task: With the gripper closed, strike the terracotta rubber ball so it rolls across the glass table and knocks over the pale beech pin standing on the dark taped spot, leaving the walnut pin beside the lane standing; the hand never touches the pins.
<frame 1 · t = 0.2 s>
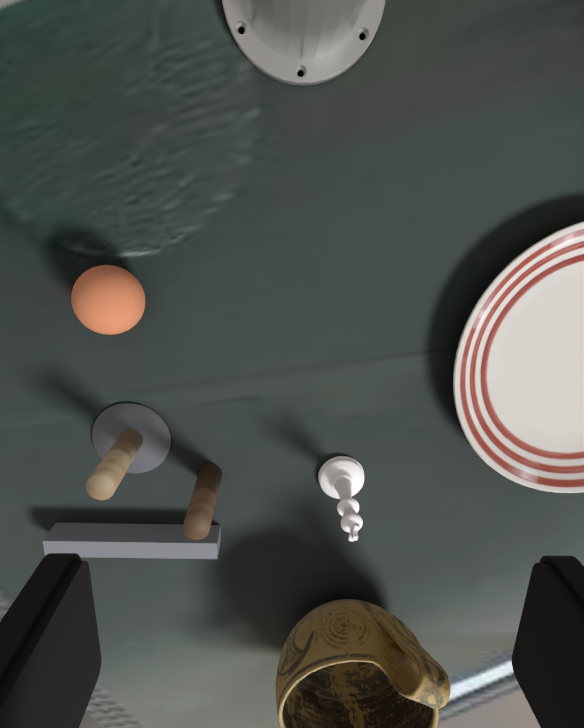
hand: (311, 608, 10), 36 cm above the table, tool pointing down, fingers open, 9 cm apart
walnut pin: (210, 473, 50), on the table
ceramic bowl: (345, 625, 57), on the table
chess piece: (340, 475, 51), on the table
dinner plate: (577, 356, 47), on the table
beech pin: (131, 438, 48), on the table
back wall: (139, 531, 52), on the table
ball: (109, 300, 41), on the table
pin spot: (131, 438, 48), on the table
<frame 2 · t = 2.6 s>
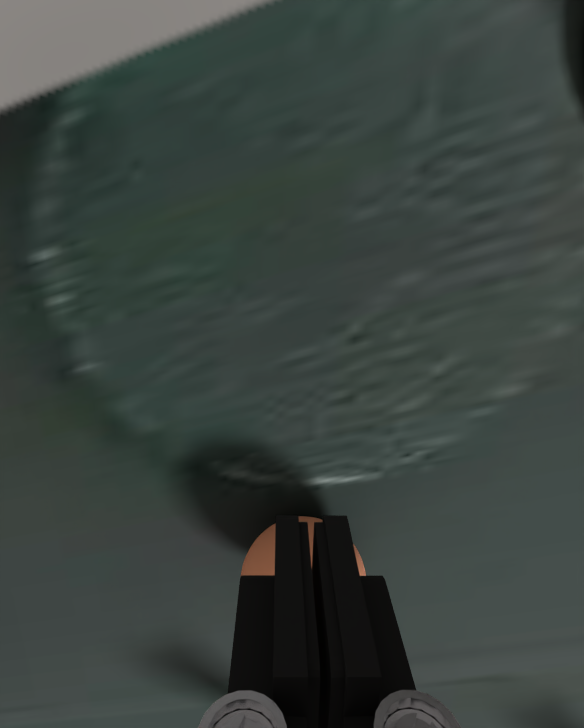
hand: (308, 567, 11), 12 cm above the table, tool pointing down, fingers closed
ball: (303, 582, 22), on the table
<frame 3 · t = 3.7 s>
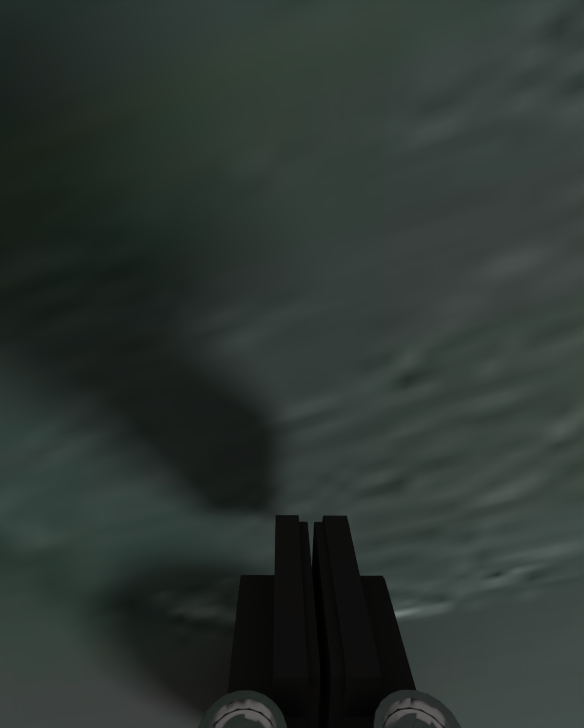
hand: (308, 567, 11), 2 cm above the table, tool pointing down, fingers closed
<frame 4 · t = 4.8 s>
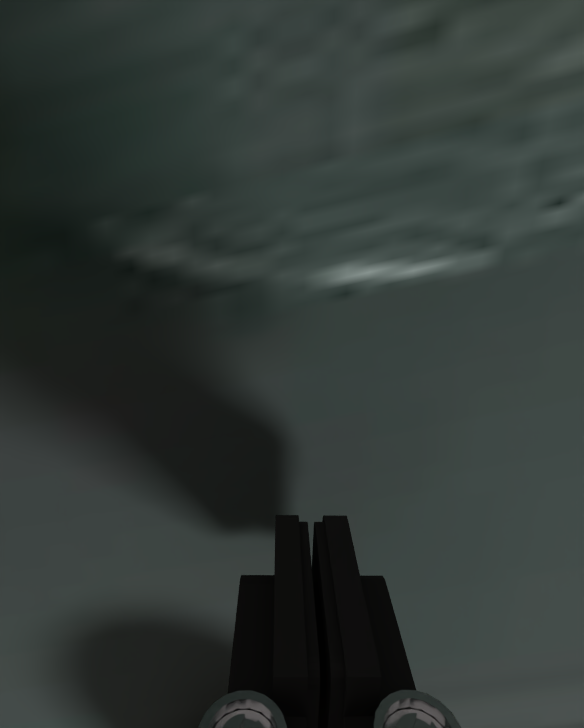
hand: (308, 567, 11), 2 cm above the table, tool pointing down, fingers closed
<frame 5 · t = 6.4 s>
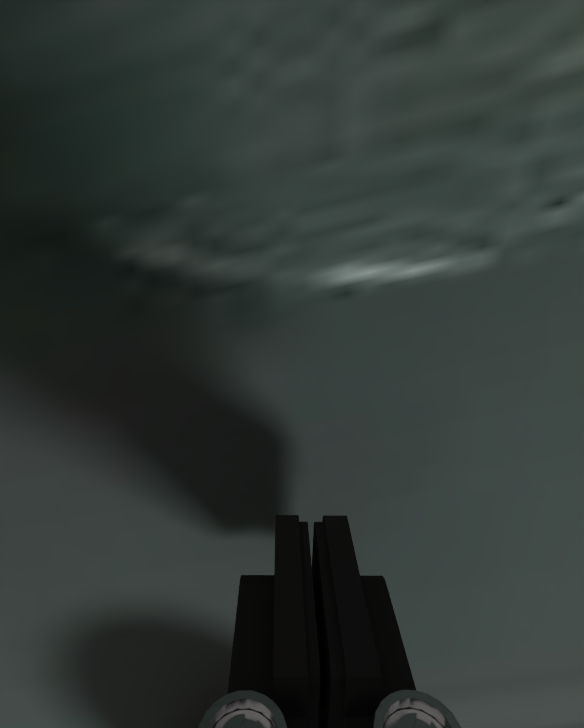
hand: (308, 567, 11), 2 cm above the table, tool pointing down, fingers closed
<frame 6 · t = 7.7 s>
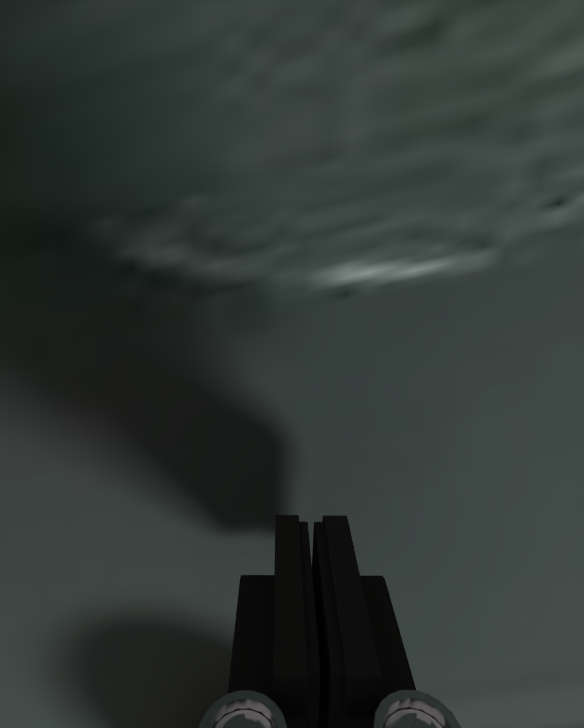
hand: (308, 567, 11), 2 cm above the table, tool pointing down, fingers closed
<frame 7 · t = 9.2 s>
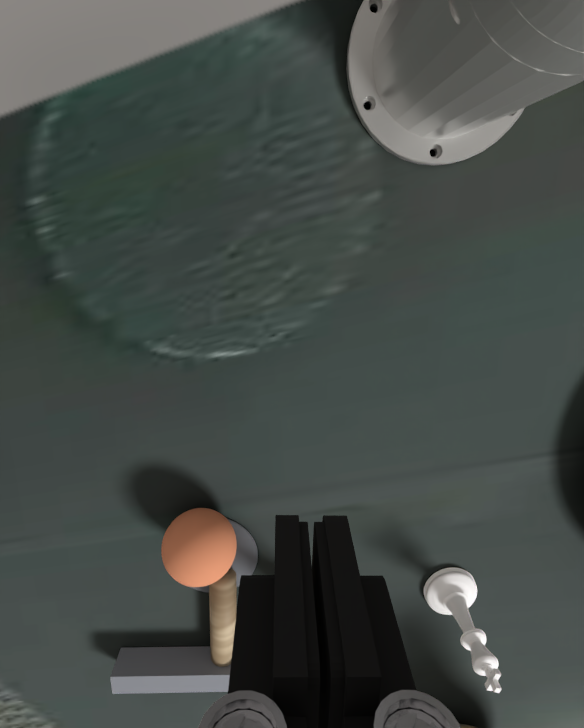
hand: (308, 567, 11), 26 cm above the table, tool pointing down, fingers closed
chess piece: (448, 587, 44), on the table
beech pin: (222, 576, 41), point 1 cm above the table, tilted 90°
back wall: (216, 654, 45), on the table
ball: (199, 546, 38), on the table
pin spot: (213, 554, 42), on the table
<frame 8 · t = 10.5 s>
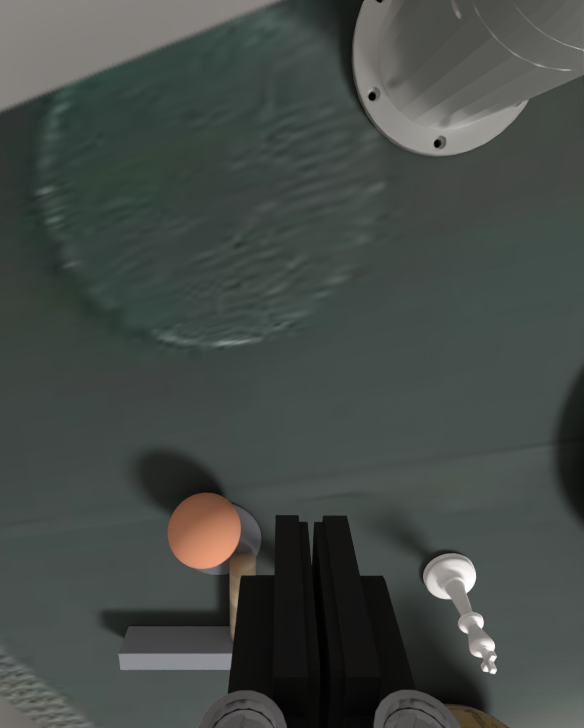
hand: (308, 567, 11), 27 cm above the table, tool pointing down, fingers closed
ceramic bowl: (440, 725, 52), on the table
chess piece: (447, 572, 45), on the table
beech pin: (242, 558, 43), point 1 cm above the table, tilted 90°
back wall: (220, 634, 47), on the table
ball: (204, 529, 39), on the table
pin spot: (217, 538, 43), on the table
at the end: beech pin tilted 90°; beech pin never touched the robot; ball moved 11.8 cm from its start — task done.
